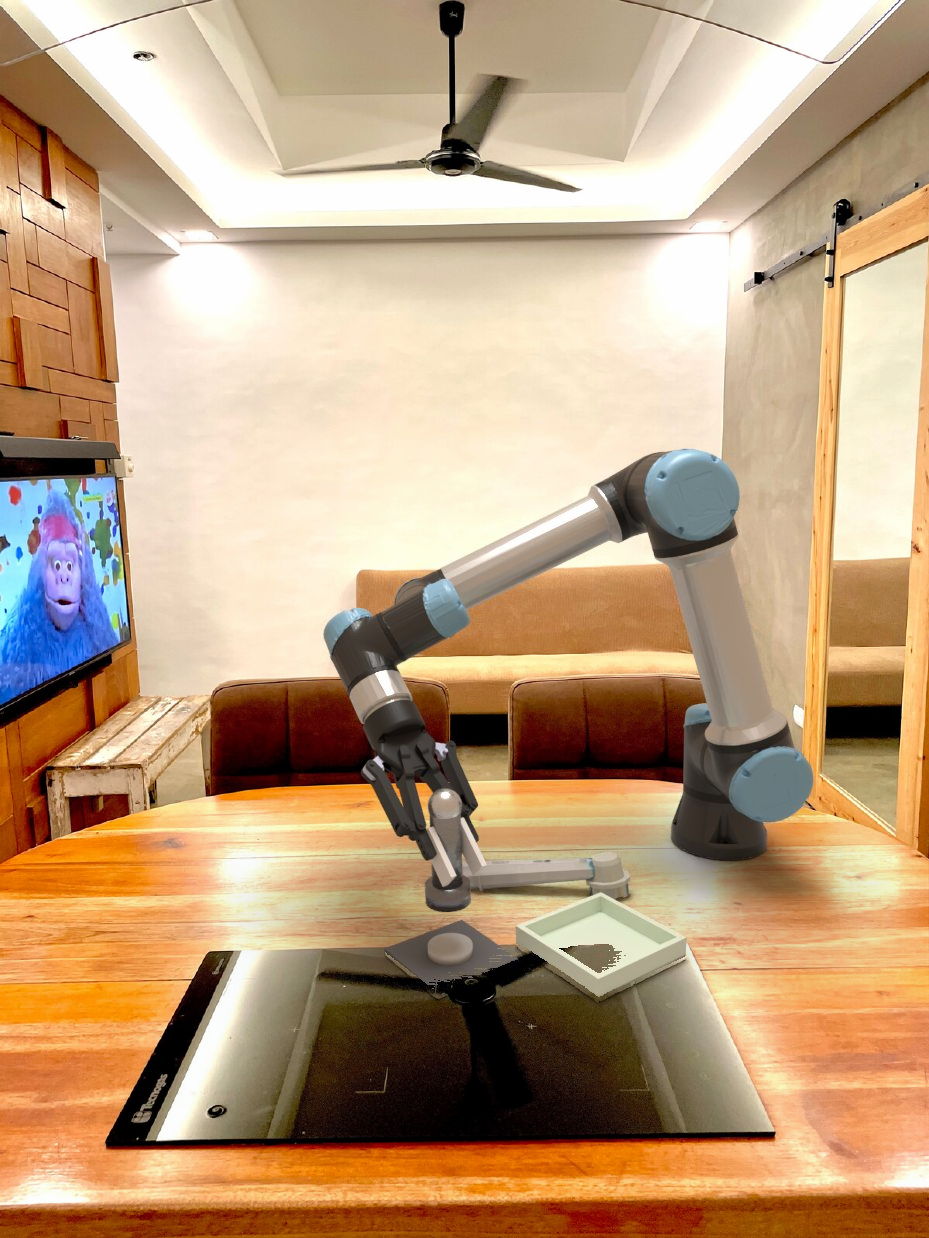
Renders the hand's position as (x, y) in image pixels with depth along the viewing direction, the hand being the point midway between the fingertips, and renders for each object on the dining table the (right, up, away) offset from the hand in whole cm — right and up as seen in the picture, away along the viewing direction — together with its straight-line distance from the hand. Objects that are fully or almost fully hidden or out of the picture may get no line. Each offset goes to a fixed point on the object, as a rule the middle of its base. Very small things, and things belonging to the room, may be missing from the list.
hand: (464, 875), depth 104 cm
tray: (+17, -12, +6) cm, 22 cm away
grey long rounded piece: (+11, -10, +23) cm, 28 cm away
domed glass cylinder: (-2, -4, +4) cm, 6 cm away
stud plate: (-2, -12, +5) cm, 13 cm away
